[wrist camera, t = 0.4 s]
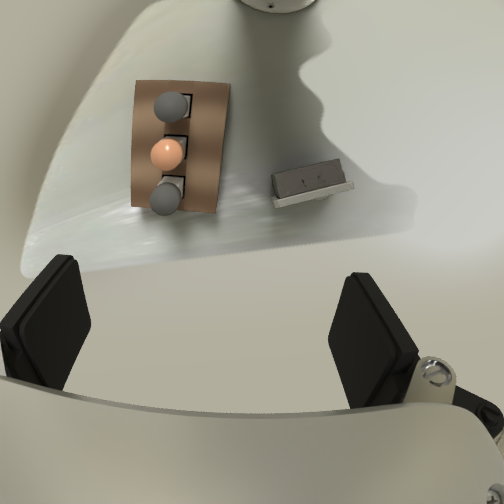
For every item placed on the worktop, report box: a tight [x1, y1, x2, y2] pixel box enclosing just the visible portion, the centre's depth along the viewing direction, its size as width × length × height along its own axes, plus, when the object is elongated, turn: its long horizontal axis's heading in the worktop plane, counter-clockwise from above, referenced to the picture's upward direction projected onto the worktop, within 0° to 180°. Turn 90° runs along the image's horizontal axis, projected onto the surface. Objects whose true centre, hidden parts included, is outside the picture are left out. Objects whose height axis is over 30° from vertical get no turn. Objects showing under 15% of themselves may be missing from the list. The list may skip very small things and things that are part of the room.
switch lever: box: [154, 92, 191, 123], centre depth 30 cm, size 3×3×6 cm
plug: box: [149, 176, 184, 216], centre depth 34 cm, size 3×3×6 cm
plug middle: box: [151, 136, 187, 171], centre depth 32 cm, size 3×3×6 cm
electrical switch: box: [271, 159, 354, 208], centre depth 37 cm, size 9×5×9 cm, turn 105°
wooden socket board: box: [131, 80, 230, 213], centre depth 36 cm, size 16×11×4 cm
